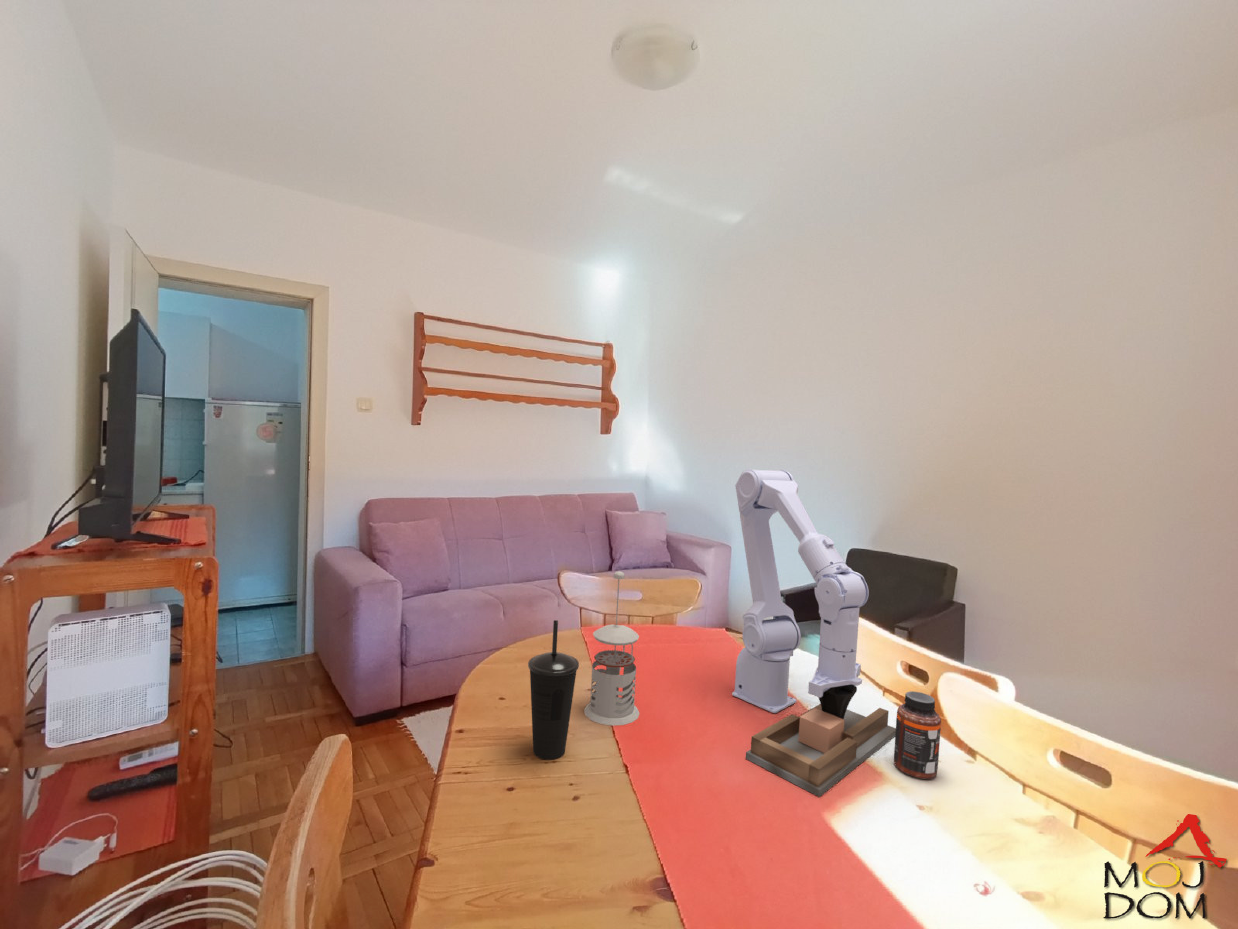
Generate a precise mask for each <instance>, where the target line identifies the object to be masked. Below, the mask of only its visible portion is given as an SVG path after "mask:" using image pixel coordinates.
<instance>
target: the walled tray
mask: <svg viewBox="0 0 1238 929" xmlns="http://www.w3.org/2000/svg"><path fill="white" fill-rule="evenodd" d="M814 708H816V709H819V710H821V711H822V707H821V703H819V704H818V705H816V706H814V707H812V708H810V709H808V710H807V711H805V712H803V713H802V714H801V715H800V716H802V715H804V714H806V713H807V712H809V711H811V710H813V709H814ZM800 716H797V715H795V714H793V713H791V714H789V715H787V716H786V717H784V718H782V719H781V720H779V721H777V722H775V723H773V724H772V725H770V726H768V727H766V728H764V729H763V730H761V731H759V732H757V733H756V734H754V735H751V740H750V741H751V742H750V749H749V750H747V751H746V752H745V759H746V760H747V761H750V762H751V763H753V764H755V765H756V766H759V767H761V768H763V769H764V770H766V771H768V772H771V773H772V774H775V775H776V776H778V777H780V778H782V779H784V780H785V781H788V782H790V783H791V784H793V785H796V786H797V787H799V788H801V789H803V790H805V791H807V792H809V793H811V794H812V795H814V796H816V797H817V798H820V797H822V796H823V795H824V794H825V793H827V792H828V791H829V790H830V789H832V787H834V786H835V785H836V784H838V783H839V782H840V781H841V780H843V779H844V778H845V777H846V776H847V775H848V774H850V773H851V772H852V771H853V770H855V769H856V768H858V767H859V766H860V765H861V764H862V763H864V762H865V761H867V759H868V758H870V757H872V755H874V754H875V753H876V752H877V751H878V750H880V749H881V748H883V747H884V746H885V745H886V744H888V743H889V742H890V741H891V740H892V739H893V738H895V733H896V727H894V726H891V725H888V724H889V710H887V709H884V708H881V707H879V708H877V709H876V710H875V711H873V712H871V713H870V714H869V715H867V716H865V715H863V714H860V713H857V712H855V711H852V710H850V709H847V710H846V713H845V716H844V733H843V741H842V742H840V743H839V744H837V745H836V746H835V747H833V748H832V749H830V750H829V751H828V752H826V753H823V752H821V751H818V750H816V749H814V748H812V747H810V746H808V745H805V744H803V743H801V742H799V741H798V739H799V724H800ZM858 765H859V766H858Z"/></svg>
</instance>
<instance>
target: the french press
mask: <svg viewBox="0 0 1238 929" xmlns="http://www.w3.org/2000/svg"><path fill="white" fill-rule="evenodd" d="M613 579H615V580H616V579H617V580H618V581H617V594H616V595H617V596H616V614H615V615H616V616H615V624H606V625H605V626H602V627H599V628H597V629H596V630H594V632H593V633H592V636H593V637H594V639H595V640H596V641H597V642H598V643H601V644H605V645H608V646H609V645H610V646H614V650H611V649H608V650H607V649H605V650H602V651H599V652H597V653H595V655H594V660H595V661H593V663H592V665H591V683H590V684H591V686H590V700H589V703H588V704H587V705H586V706H585V708H584V710H583V712H584V715H585V716H586V717H587V718H588V719H589V721H592V722H595V723H597V724H598V725H599V724H600V725H605V726H611V727H613V726H624V725H627V724H631V723H634V721H636V720H638V719H639V716H640V711H639V709H638V707H637V706H636V705H635V702H636V701H635V696H636V691H635V690H636V681H637V680H636V678H637V677H636V674H637V666H636V665H635V663H634V662H635V660H636V658H635V656H634V655H633V652H634V651H633V649H634V647H633V646H634V644H635V643H637V641H638V640H639V638H640V635H639V634H638V633H637V632H636V631H635V630H634V629H632V628H630V627H628V626H626V625H623V624H622V625H619V624H618V615H619V614H618V613H619V612H618V611H619V594H620V593H619V592H620V580H624V579H625V573H624V572H623V571H620V570H618V571H615V572H614V574H613ZM629 645H630V646H631V651H630V652H631V653H629V652H625V649H626V646H629ZM617 646H623V647H622V650H620V649H619V650H617V648H616V647H617ZM598 666H604V667H606V669H605V668H597V667H598ZM595 668H597V669H595ZM622 668H623V672H622V673H623V674H620V672H621V669H622ZM619 689H622V691H620V690H619ZM593 690H594V691H593Z"/></svg>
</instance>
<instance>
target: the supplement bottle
mask: <svg viewBox="0 0 1238 929" xmlns="http://www.w3.org/2000/svg"><path fill="white" fill-rule="evenodd" d="M904 695H905V697H904V702H905V703H902V704H901V705H898V708H897V710H896V720H895V728H896V733H895V737H894V748H893V749H894V750H893V762H894V763H893V764H894V765H895V767H896V768H897V769H898V770H899V771H900V772H902V773H904V774H906V775H907V776H911V777H913V778H917V779H922V780H923V779H924V780H930V779H934V778H935V777H936V776H937V774H938V770H939V769H938V768H939V759H940V758H939V756H940V743H941V742H940V741H941V740H940V739H941V727H942V726H941V725H942V719H941V717H940V715H939V714H938V713H937V712H936V700H935V698H934V697H933V696H931V695H930V694H926V693H923V692H921V691H907V692H905V694H904Z"/></svg>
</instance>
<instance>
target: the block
mask: <svg viewBox="0 0 1238 929" xmlns="http://www.w3.org/2000/svg"><path fill="white" fill-rule="evenodd" d="M813 708H814V707H813ZM808 711H809V710H808ZM806 712H807V711H806ZM801 715H802V714H801ZM801 715H800V716H799V717H800V724H799V739H798V741H799V742H801V743H803V744H805V745H808V746H810V747H812V748H814V749H816V750H818V751H821V752H823V753H826V752H828V751H829V750H830V749H832V748H833V747H835V746H836V745H837V744H839V743H840V742H842V741H843V733H844V719H841V718H839V717H836V716H834V715H831V714H829V713H826V712H824V711H821V710H819V709H816V708H814V709H813V710H811V711H809V712H807V713H806V714H804V715H802V716H801Z"/></svg>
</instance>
